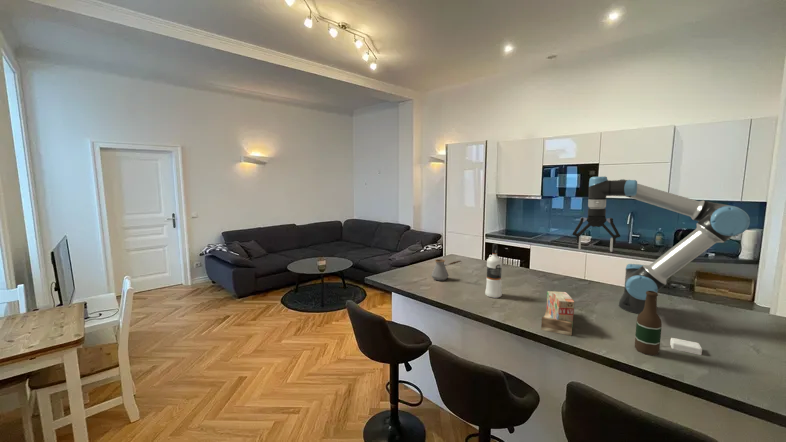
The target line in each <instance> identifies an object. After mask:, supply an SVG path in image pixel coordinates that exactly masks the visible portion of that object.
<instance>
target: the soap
mask: <svg viewBox="0 0 786 442" xmlns="http://www.w3.org/2000/svg"><path fill="white" fill-rule="evenodd" d="M669 344H670V347H671V349H672V350H675V351H680V352H684V353H685V352H686V353H689V354H690V353H691V354H695V355H700V356H701V355H702V354H703V348H702V346H701V344H700V343H699V342H695V341H692V340H691V341H690V340H685V339H681V338H676V337H675V338H674V337H670V341H669Z"/></svg>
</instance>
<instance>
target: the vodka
mask: <svg viewBox="0 0 786 442" xmlns="http://www.w3.org/2000/svg"><path fill="white" fill-rule="evenodd" d="M491 252H492V254H491V256H489V257H487V259H486V284H485V285H486V286H485V291H484V294H485V296H487V297H488V298H493V299H497V298H501V297H502V296H503V291H502V279H503V278H502V268H503V260H502V258H500V257H499V256H498V244H494V243H493V244H492V251H491Z"/></svg>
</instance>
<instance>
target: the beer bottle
mask: <svg viewBox="0 0 786 442" xmlns="http://www.w3.org/2000/svg"><path fill="white" fill-rule="evenodd" d="M658 296H659V294H658V292H654V291H646V300H645V306H644V309H643V311H642V312H641V313H640V314H639V313H638V315H637V318H636V325H635V337H634V348H635V350H636V351H637V352H639V353H641V354H644V355H648V356H653V355H654V356H656V355H658V354H659V353H660V346H661V336H662V327H663V325H662V323H663V322H662V319H661V317H660V315H659V314H658V310H657V309H658V307H657V306H658V305H657V304H658V303H657V302H658Z"/></svg>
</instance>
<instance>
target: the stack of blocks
mask: <svg viewBox="0 0 786 442" xmlns="http://www.w3.org/2000/svg"><path fill="white" fill-rule="evenodd" d="M546 309H547V310H548V312H549V313H550V315H551V316H552V318H553V319H557V320H562V321H568V322H572V328H573V326H574V315H575V314H574V313H575V301H574V300H573V297H571V296H570V295H569V294H568V293H567V292H565V291H551V290H550V291H549V290H548V291H546Z"/></svg>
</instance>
